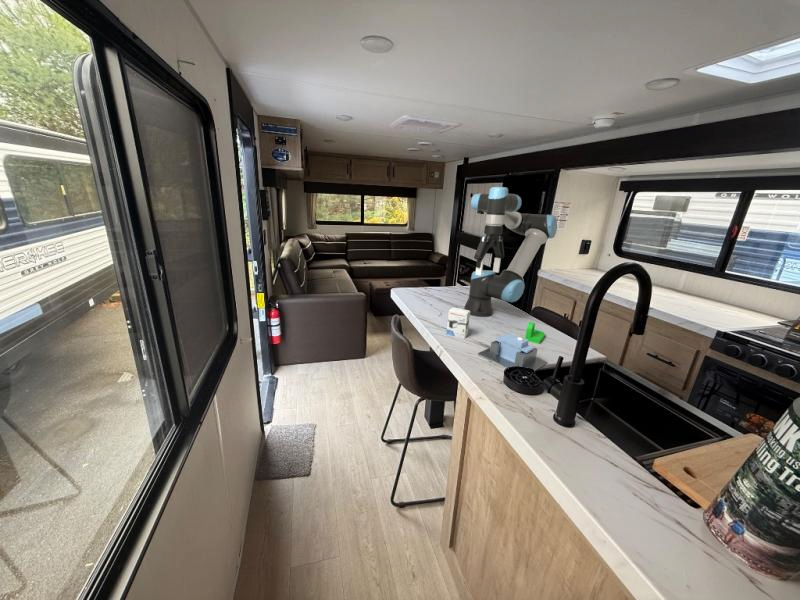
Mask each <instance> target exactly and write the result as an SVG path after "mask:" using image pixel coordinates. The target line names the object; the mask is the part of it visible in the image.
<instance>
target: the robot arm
mask: <svg viewBox="0 0 800 600" xmlns="http://www.w3.org/2000/svg"><path fill="white" fill-rule="evenodd" d="M521 206H522V198H521V196H519V195H518V194H515V193H509V188H508V187H504V186H492V187H490V189H489V192H488V193H481V192H480V193H475V194H473V196H472V197H471V200H470V207H471V208H472V209H473V210H474V211H482V212H483V213H485V215H486V217H485V224H486V225H484V231H483V234H484V235H485V236H481V237H480V242H479V243H478V246H477V249H476V251H475V253H474V256H473V259H474V260H475V261H476V263H475V265H476V267H475V271H473V272H472V273H471V278H470V286H469V295H468V299H467V300H466V302H465V304H464V308H463V309H464V310H469V311H470V316H473V317H478V318H481V317H482V318H488V317H490V316H493V313H494V309H493V304H492V298H493V299H496V300H501V301H503V302H508V303H516V302H517V301H518V300H520V298H521V297H522V295H523V294H524V290H525V288H526V287H525V285H526V283H525V282H524V281H525V280H524V278H523V277H524V276H525V274H526V272H527V270H528V269H529V267H530V265H531V263H532V261H533V260H534V258H535V256H536V254H537V253H538V251H539V249H540V247H541V245H543V244H545V243H546V242H548V240H549V239H554V238H555V237H556V234H557V231H558V230H557V229H558V220H557V219H558V218H557V217H556V216H555V215H553V214H538V213H537V214H536V213H535V214H534V213H521V212H518V211H519V209H520V208H521ZM503 225H504V226H505V227H506V229H509V230H510V231H512V232H514V233H515V234H516V233H517V234H519V235H520V236H522V235H523V236H525V238H524V240H523V241H522V243H521V245H520V246H519V248H518V249H517V252H516V253H515V255H514V257H513V259H512V260H511V262H510V263H509V265H508V267H507V269H504V270H502V271H501V272H500V267H501V260H502V259H504V257H505V248H504V236H502V234H503V229H504V227H503ZM489 249H493V252H494V254H495V257H494V259H493V260H494V262H493V267H492V270H486V269H485V270H484V268H483V267H484V260H483V259H484V258H485V256H486V254H487V253H488V251H489ZM496 273H497V274H498V273H500V274H499V275H497V274H496Z"/></svg>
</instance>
